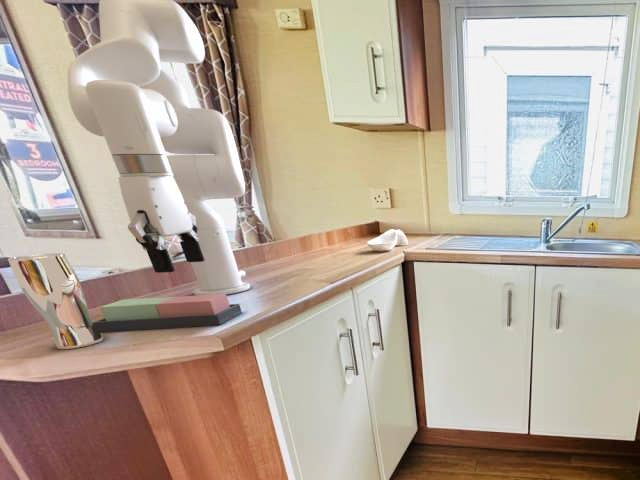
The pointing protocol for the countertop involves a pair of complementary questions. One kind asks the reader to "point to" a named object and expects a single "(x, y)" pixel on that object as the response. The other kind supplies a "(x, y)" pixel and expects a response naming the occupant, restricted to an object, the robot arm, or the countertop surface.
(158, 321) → the frame
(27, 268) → the chrome vase
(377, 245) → the spoon rest
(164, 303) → the pad rose
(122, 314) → the pad sage
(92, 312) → the countertop surface
